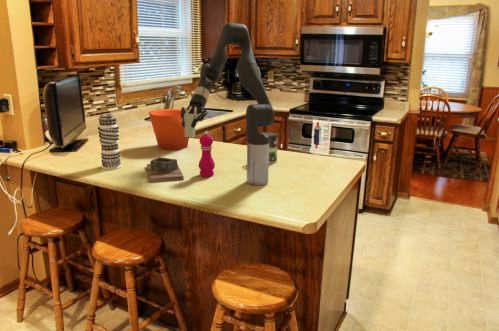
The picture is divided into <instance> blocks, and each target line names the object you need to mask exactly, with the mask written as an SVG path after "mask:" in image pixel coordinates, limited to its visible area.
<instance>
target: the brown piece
mask: <svg viewBox="0 0 499 331" xmlns="http://www.w3.org/2000/svg"><path fill="white" fill-rule="evenodd" d="M146 169H147V170H146V171H147V174H148V177H149V181H150V183H158V182H169V181H170V182H172V181H184V180H185V179H184V178H185V177H184V175H183V173H182V170H181V169H180V167H179V164H178V159H175V158H168V157H167V158H166V157H157V158H154V159H151V160H150V163H146Z"/></svg>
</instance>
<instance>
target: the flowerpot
mask: <svg viewBox="0 0 499 331" xmlns="http://www.w3.org/2000/svg"><path fill="white" fill-rule="evenodd" d="M181 109H182V108H165V109H155V110H154V109H153V110H149V112H148V115H149V119H150V123H151V126H152V128H153V133H154V136H155V139H156V143H157V146H158V148H159V149H160V150H163V151H164V150H165V151H180V150H184V149H187V148H188V146H189V141H190V137H185V127H183V126H182V124H181V123H182V121H183V119H182V118H181ZM187 111H188V110H187Z"/></svg>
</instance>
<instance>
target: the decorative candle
mask: <svg viewBox="0 0 499 331" xmlns="http://www.w3.org/2000/svg"><path fill="white" fill-rule="evenodd" d="M117 118H118V117H116V116H115V115H114V113H102V114H100V115H99V117H98V118H97V119H98V124H99V125H98V126H97V129H98V137H99V140H98V141H99V143H100V147H101V153H100V155H101V157H100V158H101V166H102V167H101V168H102V169H104V170H116V169H120V168H121V166H122V165H121V164H122V162H121V158H120V157H121V155H120V154H121V152H120V148H119V142H120V141H119V140H120V138H119V137H120V134H118V133H120V131H119V126H118V123H117Z"/></svg>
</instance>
